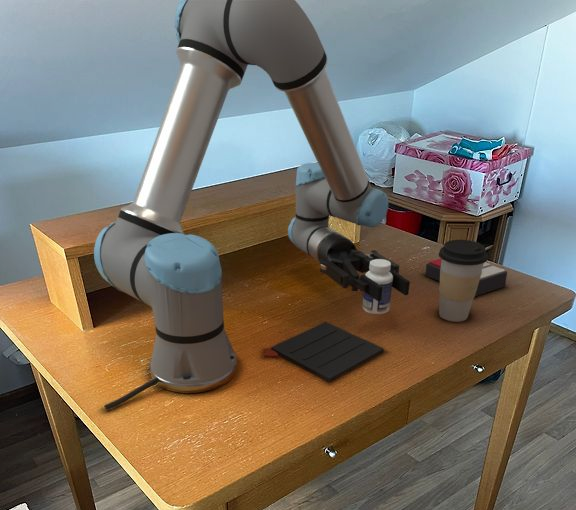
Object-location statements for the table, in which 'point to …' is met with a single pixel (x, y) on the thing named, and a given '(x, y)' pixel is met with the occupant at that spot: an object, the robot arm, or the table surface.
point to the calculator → (488, 280)
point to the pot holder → (326, 351)
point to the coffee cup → (459, 277)
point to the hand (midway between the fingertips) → (393, 291)
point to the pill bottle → (384, 279)
